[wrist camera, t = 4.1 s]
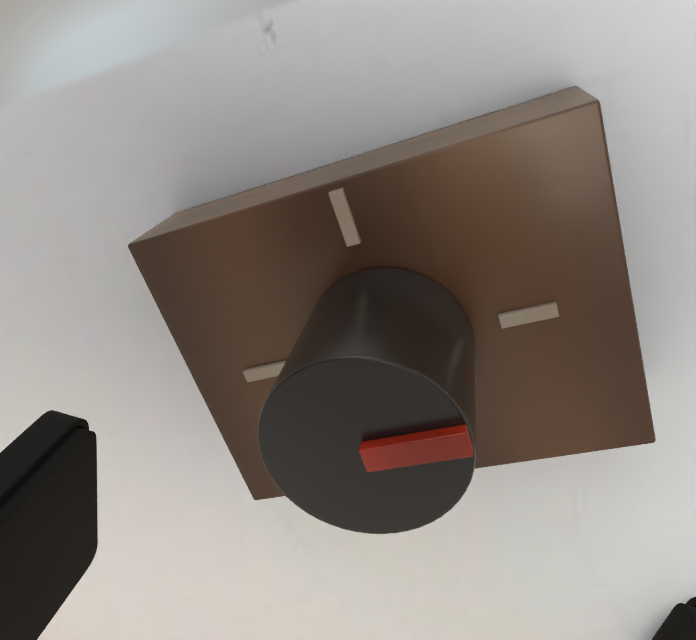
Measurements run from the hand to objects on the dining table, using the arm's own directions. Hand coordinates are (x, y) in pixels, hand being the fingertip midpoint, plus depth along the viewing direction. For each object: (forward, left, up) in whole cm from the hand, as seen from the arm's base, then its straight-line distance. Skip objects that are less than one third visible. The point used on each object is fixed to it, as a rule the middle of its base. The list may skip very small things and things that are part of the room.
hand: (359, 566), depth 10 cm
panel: (0, 0, -10) cm, 10 cm away
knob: (0, 0, -7) cm, 7 cm away
